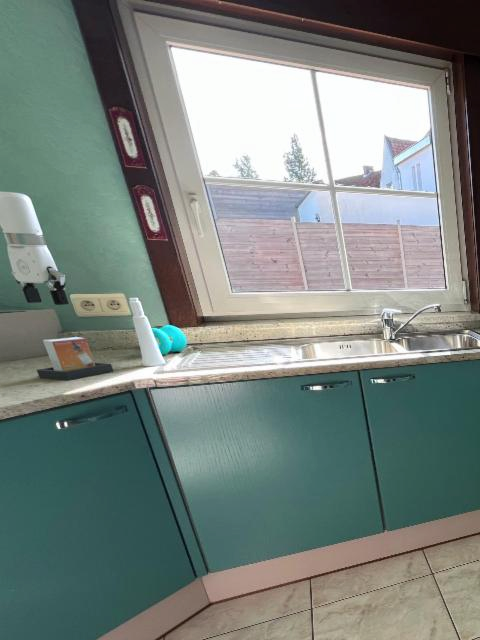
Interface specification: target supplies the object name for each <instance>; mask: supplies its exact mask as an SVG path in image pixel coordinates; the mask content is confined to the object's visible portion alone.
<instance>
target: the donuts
mask: <svg viewBox="0 0 480 640" xmlns="http://www.w3.org/2000/svg"><path fill="white" fill-rule="evenodd" d="M151 329H152V332H153V335H154V337H155V340H156V343H157V345H158V348H159V350H160V352H161V354H162V356H164V355H167V354H169V353H170V352H172V353H173V352H175V353H178V352H181V351H183V350H185V349H186V347H187V345H188V340H187V337H186V335H185V333H184V332H183V331H182V330H181V329H180V328H179V327H176V326H174V325H171V324H170V325H169V324H168V325H163V326H161V327H160V328H157V327H151ZM157 340H158V341H159V342H158V341H157ZM171 340H172V341H171Z"/></svg>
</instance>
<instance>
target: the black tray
mask: <svg viewBox="0 0 480 640" xmlns="http://www.w3.org/2000/svg"><path fill="white" fill-rule="evenodd" d="M94 363H95V366H92V367H87V368H82V369H76V370H71V371H55V370H54V368H53V366H51V367H45V368H39V369H36V372H37V375H38V378H39V379H45V380H57V381H72V380H78V379H84V378H88V377H94V376H98V375H103V374H108V373H114V367H113V365H112V363H107V362H95V361H94Z"/></svg>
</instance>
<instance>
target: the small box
mask: <svg viewBox="0 0 480 640" xmlns="http://www.w3.org/2000/svg"><path fill="white" fill-rule="evenodd" d="M42 342H43V344H44V347H45V350H46V352H47V355H48V357H49V360H50V363H51V365H52V367H53V368H54V370H55V371H71V370H76V369H82V368H87V367H92V366H95V363H96V362H95V361H94V358H93V355H92V352H91V348H90V347H89V344H88V343H89V342H88V341H87V338H85V337H80V336H73V337H63V338H55V339H54V338H52V339H43V340H42ZM94 362H95V363H94Z"/></svg>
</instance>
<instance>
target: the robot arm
mask: <svg viewBox="0 0 480 640" xmlns="http://www.w3.org/2000/svg"><path fill="white" fill-rule="evenodd" d="M0 228H1V231H2V233H3V235H4V236H3V237H4V239H5V242H6V244H7V245H6V246H7V247H6V248H7V255H8V260H9V263H10V266H11V270H12V271H11V272H10V273H11V275H12V276H13V278H15V282H16V283H17V284H18V285H19V287H20V289H22V292H23V295H24V297H25V300H26V303H28V304H34V303H35V304H36V303H42V301H43V300H42V298H41V295H40V292H39V288H38V287H36V285H37V284H46V286H47V287H48V288H49V289H50V290H49V293H50V295H51V299H52V301H53V304H54V305H56V306H62V305H63V306H64V305H69V300H68V297H67V294H66V285H67V284H66V275H65V274H63V273H62V272H60V271H59V270H58V267H57V265H56V262H55V260H54V258H53V256H52V253H51V252H50V249H48V246H47V242H46V239H45V236H44V234H43V229H42V228H41V225H40V222H39V219H38V216H37V214H36V211H35V207H34V205H33V202H32V199H31V198H30V197H29V196H28V195H26V194H24V193H20V192H12V191H0Z"/></svg>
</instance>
